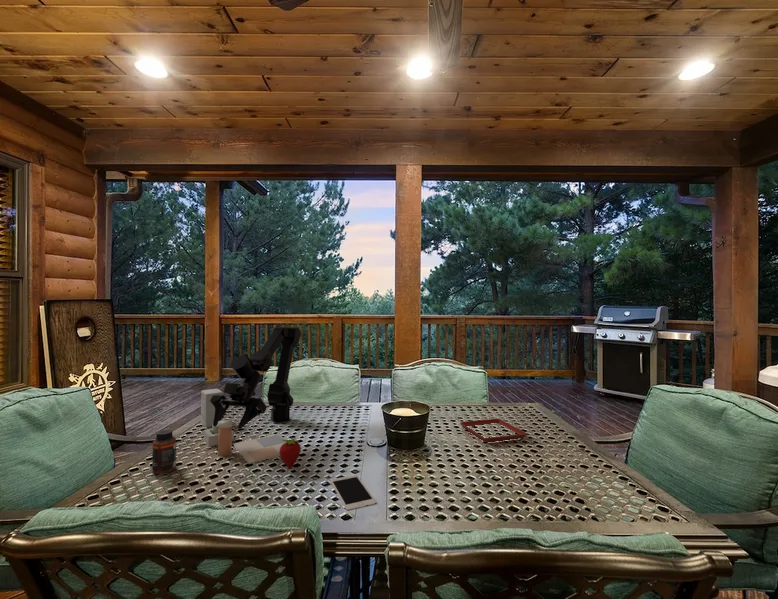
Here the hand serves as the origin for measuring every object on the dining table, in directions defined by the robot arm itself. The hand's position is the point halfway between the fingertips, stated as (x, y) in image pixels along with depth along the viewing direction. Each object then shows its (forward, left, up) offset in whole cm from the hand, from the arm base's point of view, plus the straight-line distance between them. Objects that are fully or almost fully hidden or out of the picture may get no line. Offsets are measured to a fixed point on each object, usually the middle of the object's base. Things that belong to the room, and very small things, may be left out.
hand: (226, 427), depth 120 cm
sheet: (-12, +3, -8) cm, 15 cm away
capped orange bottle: (0, 0, -8) cm, 8 cm away
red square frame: (-85, +40, -9) cm, 94 cm away
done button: (-1, -13, -6) cm, 14 cm away
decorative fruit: (-13, +22, -9) cm, 27 cm away
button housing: (-1, -13, -8) cm, 15 cm away
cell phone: (-21, +44, -9) cm, 50 cm away
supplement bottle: (+17, +2, -9) cm, 20 cm away
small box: (-3, -34, -9) cm, 35 cm away
